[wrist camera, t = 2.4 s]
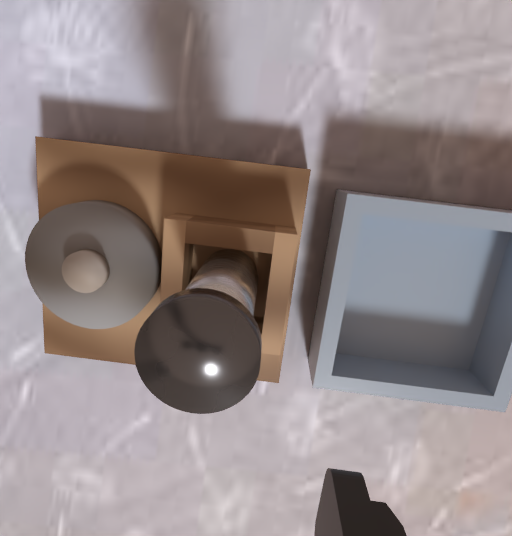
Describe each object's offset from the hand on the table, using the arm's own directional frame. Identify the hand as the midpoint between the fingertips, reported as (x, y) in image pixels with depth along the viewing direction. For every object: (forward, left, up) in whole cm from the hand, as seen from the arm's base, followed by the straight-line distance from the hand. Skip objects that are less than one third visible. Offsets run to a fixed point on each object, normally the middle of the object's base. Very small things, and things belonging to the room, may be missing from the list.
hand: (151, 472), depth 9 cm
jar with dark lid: (0, 0, -15) cm, 15 cm away
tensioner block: (0, -4, -17) cm, 18 cm away
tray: (0, +12, -17) cm, 21 cm away
